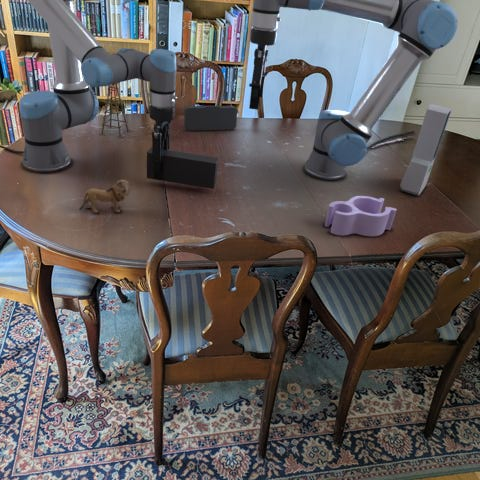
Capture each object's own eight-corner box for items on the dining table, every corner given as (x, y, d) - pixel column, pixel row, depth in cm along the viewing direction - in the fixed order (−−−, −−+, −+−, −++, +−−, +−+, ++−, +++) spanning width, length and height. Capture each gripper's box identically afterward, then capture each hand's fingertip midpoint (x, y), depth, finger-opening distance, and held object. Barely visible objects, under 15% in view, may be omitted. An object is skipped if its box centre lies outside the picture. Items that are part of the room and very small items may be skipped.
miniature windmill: (120, 137, 185) (116, 58, 169) (100, 134, 186) (94, 55, 170) (129, 130, 193) (126, 54, 176) (110, 127, 194) (105, 51, 177)
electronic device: (418, 197, 164) (446, 113, 148) (397, 190, 167) (423, 108, 151) (426, 185, 173) (454, 105, 157) (406, 179, 176) (431, 100, 160)
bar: (146, 178, 151) (146, 152, 146) (150, 172, 155) (150, 147, 150) (213, 189, 150) (215, 163, 145) (215, 183, 154) (218, 157, 149)
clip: (337, 240, 135) (342, 219, 131) (318, 218, 145) (322, 198, 141) (395, 233, 141) (402, 213, 137) (373, 213, 151) (378, 194, 147)
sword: (410, 136, 218) (410, 134, 218) (415, 138, 216) (416, 136, 216) (366, 148, 203) (366, 145, 202) (371, 151, 201) (372, 148, 200)
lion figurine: (129, 202, 142) (128, 176, 137) (131, 211, 138) (130, 184, 133) (78, 207, 137) (75, 179, 132) (79, 216, 133) (76, 188, 128)
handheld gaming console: (234, 127, 207) (236, 105, 202) (236, 129, 205) (238, 107, 200) (183, 128, 200) (184, 105, 195) (185, 131, 198) (185, 107, 192)
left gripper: (166, 116, 132) (164, 189, 145) (181, 98, 147) (178, 166, 159) (141, 112, 132) (141, 185, 145) (157, 95, 147) (156, 163, 160)
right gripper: (274, 37, 123) (264, 116, 134) (279, 24, 144) (270, 93, 155) (246, 34, 123) (239, 112, 135) (255, 21, 144) (248, 90, 156)
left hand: (160, 175), depth 152 cm, fingers closed on bar, 4 cm apart
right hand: (255, 102), depth 145 cm, fingers open, 13 cm apart
